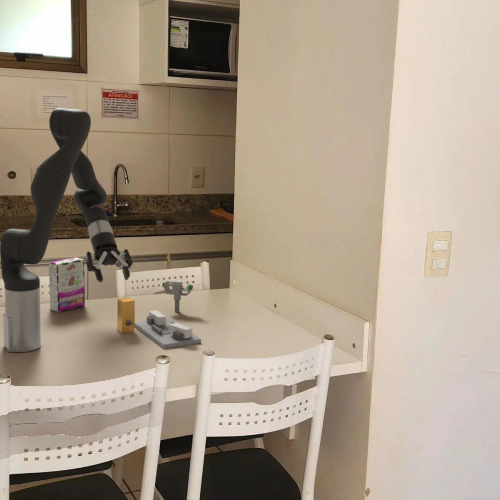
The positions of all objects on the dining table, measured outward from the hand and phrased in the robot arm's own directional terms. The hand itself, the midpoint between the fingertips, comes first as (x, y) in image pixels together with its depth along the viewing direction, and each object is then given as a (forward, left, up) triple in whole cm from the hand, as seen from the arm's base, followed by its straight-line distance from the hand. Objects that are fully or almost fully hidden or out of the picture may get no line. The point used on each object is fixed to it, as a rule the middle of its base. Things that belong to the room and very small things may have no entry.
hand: (114, 279), depth 212 cm
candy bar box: (-9, +20, -14) cm, 26 cm away
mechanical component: (+23, +2, -14) cm, 27 cm away
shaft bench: (+10, -18, -14) cm, 25 cm away
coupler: (0, -10, -14) cm, 17 cm away
